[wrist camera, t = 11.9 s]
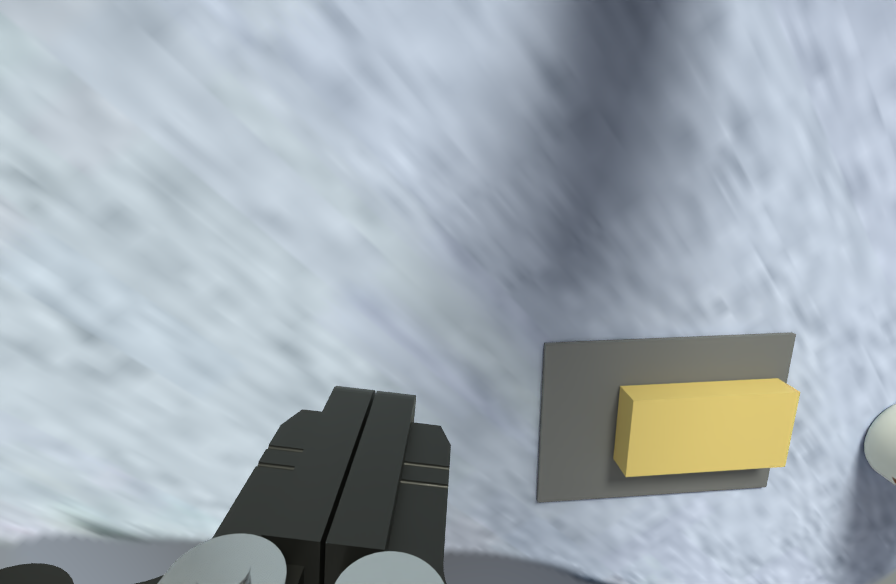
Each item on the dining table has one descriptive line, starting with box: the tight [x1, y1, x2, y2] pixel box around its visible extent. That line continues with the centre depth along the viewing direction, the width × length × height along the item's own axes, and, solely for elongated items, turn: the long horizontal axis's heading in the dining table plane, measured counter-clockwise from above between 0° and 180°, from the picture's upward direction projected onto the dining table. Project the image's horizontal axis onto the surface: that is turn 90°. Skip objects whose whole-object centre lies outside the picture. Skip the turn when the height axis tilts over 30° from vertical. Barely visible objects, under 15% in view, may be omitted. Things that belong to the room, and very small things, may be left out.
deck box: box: [613, 378, 800, 477], centre depth 40 cm, size 2×6×13 cm
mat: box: [537, 333, 796, 502], centre depth 41 cm, size 20×14×1 cm
